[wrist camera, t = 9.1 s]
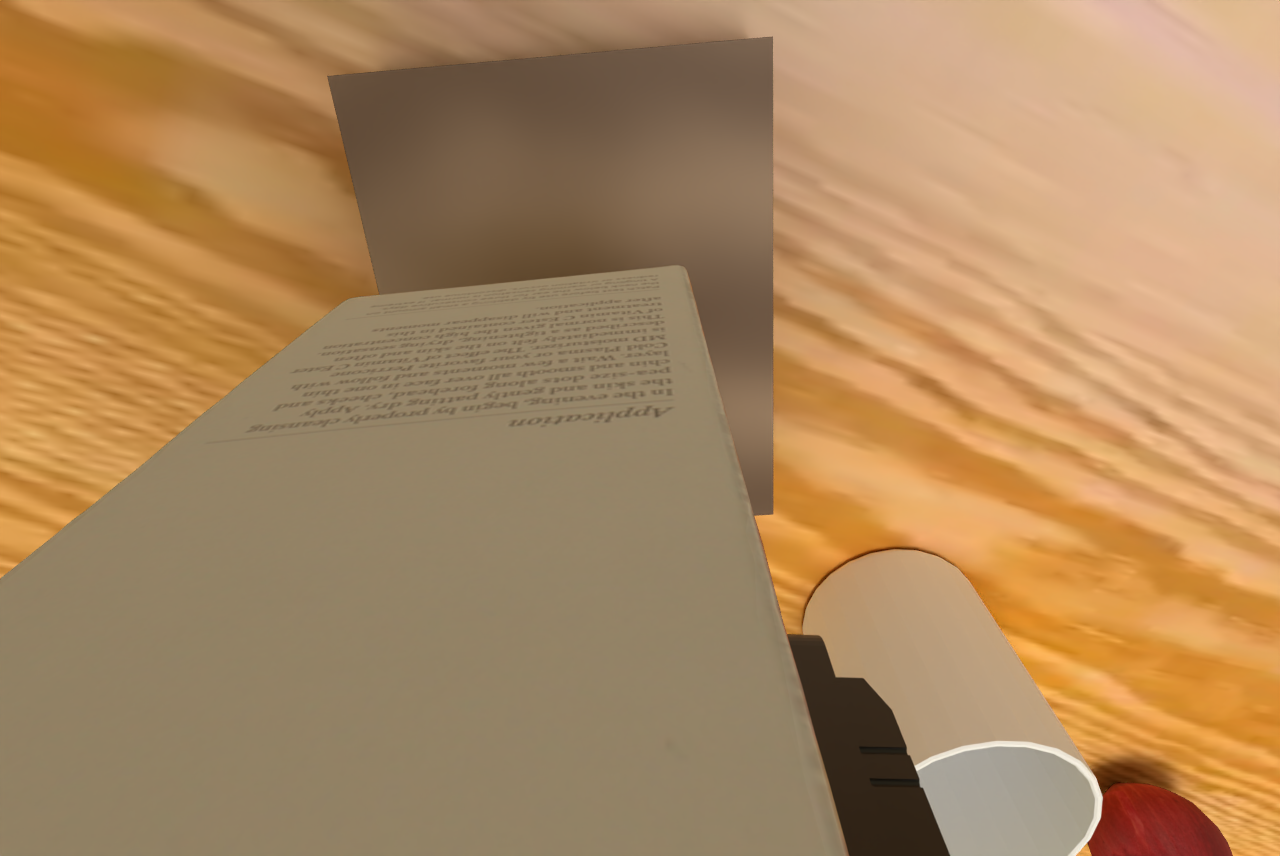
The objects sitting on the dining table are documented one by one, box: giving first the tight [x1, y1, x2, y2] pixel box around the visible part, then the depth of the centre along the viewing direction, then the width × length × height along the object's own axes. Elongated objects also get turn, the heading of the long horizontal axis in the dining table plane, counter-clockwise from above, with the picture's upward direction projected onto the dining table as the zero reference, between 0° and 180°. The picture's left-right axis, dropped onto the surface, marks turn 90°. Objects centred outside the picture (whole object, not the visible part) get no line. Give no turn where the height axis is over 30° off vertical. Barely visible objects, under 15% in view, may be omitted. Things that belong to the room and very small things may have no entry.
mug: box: [802, 549, 1103, 856], centre depth 31 cm, size 12×8×10 cm, turn 154°
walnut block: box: [327, 37, 773, 516], centre depth 26 cm, size 15×12×5 cm
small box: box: [0, 265, 849, 856], centre depth 9 cm, size 8×6×13 cm
